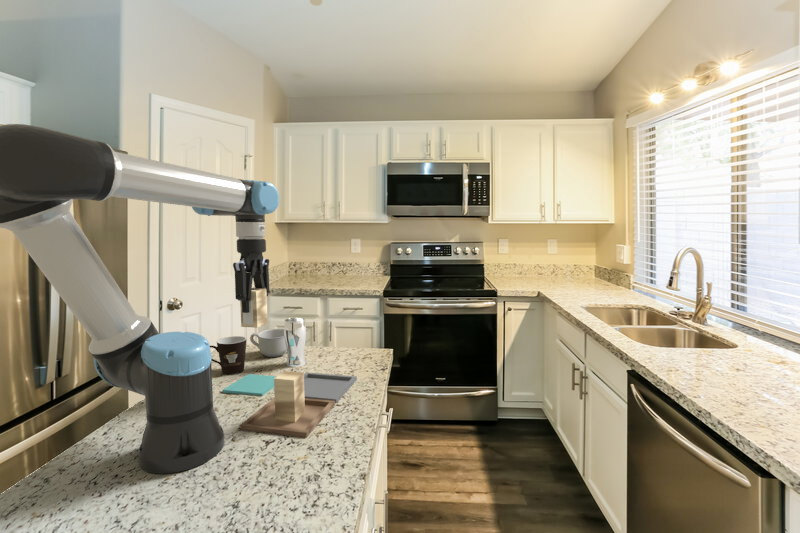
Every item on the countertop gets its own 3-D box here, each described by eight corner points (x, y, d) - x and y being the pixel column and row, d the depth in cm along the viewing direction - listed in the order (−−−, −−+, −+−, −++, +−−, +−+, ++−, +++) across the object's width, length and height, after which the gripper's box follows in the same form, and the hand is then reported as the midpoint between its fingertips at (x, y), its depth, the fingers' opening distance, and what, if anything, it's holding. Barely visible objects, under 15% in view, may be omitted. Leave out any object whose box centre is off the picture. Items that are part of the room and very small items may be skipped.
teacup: (296, 351, 145) (295, 329, 145) (279, 360, 135) (278, 337, 134) (262, 348, 149) (261, 327, 148) (244, 357, 139) (243, 334, 138)
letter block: (257, 327, 109) (256, 291, 108) (241, 326, 110) (239, 290, 109) (267, 323, 113) (266, 288, 112) (252, 322, 115) (250, 287, 114)
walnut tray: (306, 438, 85) (306, 432, 85) (240, 430, 89) (239, 424, 89) (334, 405, 101) (334, 401, 101) (277, 399, 104) (277, 395, 104)
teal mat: (262, 396, 106) (262, 393, 106) (222, 392, 109) (222, 389, 109) (284, 379, 118) (284, 377, 118) (248, 376, 121) (248, 373, 121)
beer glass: (281, 367, 129) (279, 321, 127) (291, 360, 135) (290, 316, 134) (300, 368, 127) (299, 322, 126) (310, 361, 134) (309, 317, 132)
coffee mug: (252, 366, 129) (251, 336, 128) (239, 376, 121) (238, 344, 120) (218, 365, 130) (217, 335, 129) (203, 375, 122) (201, 343, 121)
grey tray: (336, 403, 102) (336, 399, 102) (279, 398, 105) (279, 393, 105) (356, 380, 117) (356, 376, 117) (306, 376, 121) (306, 372, 121)
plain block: (295, 422, 92) (293, 380, 91) (275, 420, 93) (273, 378, 92) (304, 412, 97) (303, 372, 96) (286, 410, 98) (284, 371, 97)
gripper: (242, 239, 100) (246, 330, 102) (280, 237, 117) (283, 315, 119) (217, 239, 101) (221, 328, 104) (258, 237, 119) (261, 314, 121)
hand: (254, 321), depth 112 cm, fingers closed on letter block, 5 cm apart
